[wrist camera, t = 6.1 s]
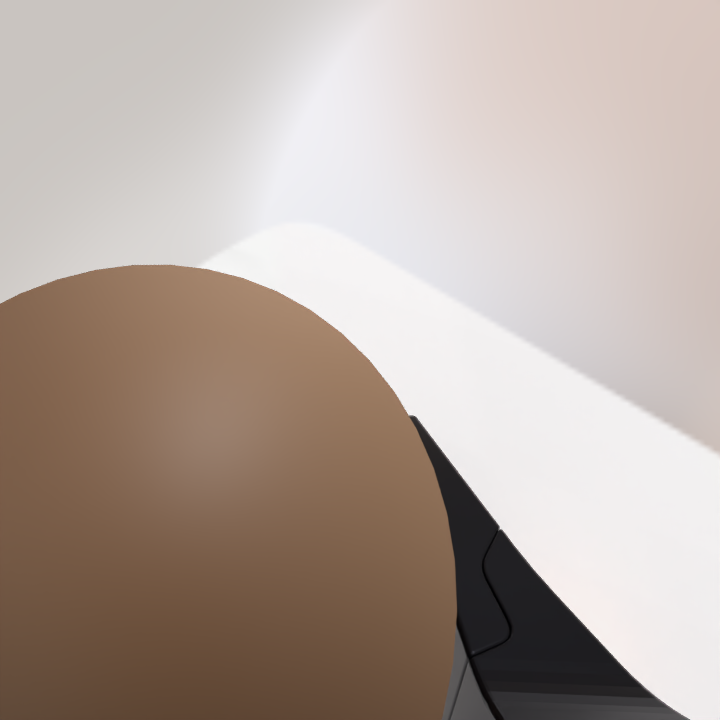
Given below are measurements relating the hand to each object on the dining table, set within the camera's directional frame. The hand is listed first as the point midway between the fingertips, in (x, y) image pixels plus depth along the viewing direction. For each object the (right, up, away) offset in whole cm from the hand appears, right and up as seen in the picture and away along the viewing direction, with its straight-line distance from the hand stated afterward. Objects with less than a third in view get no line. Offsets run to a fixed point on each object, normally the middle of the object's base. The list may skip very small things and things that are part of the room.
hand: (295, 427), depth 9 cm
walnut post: (0, -3, +6) cm, 7 cm away
